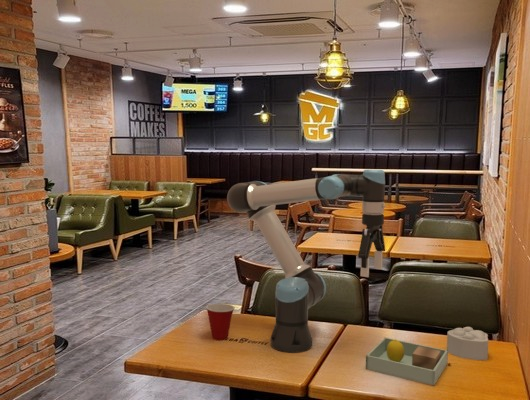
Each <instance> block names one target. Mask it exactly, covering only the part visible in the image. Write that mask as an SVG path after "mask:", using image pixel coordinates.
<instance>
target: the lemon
mask: <svg viewBox="0 0 530 400" xmlns="http://www.w3.org/2000/svg"><path fill="white" fill-rule="evenodd" d="M397 340H398V339H395V340H393V341H391V342H390V343H389V344H388V346H387V356H388V358H389V359H390V360H391V361H395V362H399V361H401V360H402V359H403V357H404V348H403V345H402V344H401V343H400V342H399V341H400V340H399V341H397Z"/></svg>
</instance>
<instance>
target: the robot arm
mask: <svg viewBox="0 0 530 400" xmlns="http://www.w3.org/2000/svg"><path fill="white" fill-rule="evenodd" d="M385 175H386V174H385V171H384V170H383V169H364V170H363V173H362V174H345V173H338V174H337V173H336V174H332V175H329V176H324V177H317V178H309V179H302V180H300V179H299V180H294V181H286V182H278V183H270V184H268V183H266V182H263V181H258V180H253V181H252V180H251V181H248V182H239V183H236V184H234V185H232V186H231V187H230V188H229V190H228V192H227V195H226V201H227V204H228V206H229V208H230V209H231V210H232V211H233V212H235V213H239V214H246V215H247V217H248V218H249V220H250V221H253V222H255V223H256V225H257V226H258V229H259V230H260V232H261V234H262V236H263V238H264V240H265V241H266V242H267V244H268V246H269V249H270V250H271V252H272V253H273V255H274V257H275V258H276V261H277V262H278V264H279V265H280V268H281V269H282V271H283V273H284V274H285V276H284V278H282V279H281V280H279V281H278V282H277V283H276V285H275V292H274V295H275V322H274V323H275V324H274V328H273V330H272V333H271V335H270V346H271V348H272V349H275V350H277V351H278V352H279V351H280V352H284V353H302V352H305V351H306V352H307V351H308V350H310V349H311V348H312V347H313V337H312V336H313V335H312V333H311V330H310V329H311V328H310V326H309V309H311V308H312V307H313V306H315V305H317V304H319V303H320V302H322V301H321V300H322V299H324V297H325V295H326V291H327V285H326V282H325V280H324V278H323V277H322V275H321V274H319V273H317V272H315V271H314V269H313V268H312V266H311V265H308V264H306V263H305V262H304V260H303V258H302V256H301V255H300V253H299V252H298V250H297V248H296V246H295V245H294V243H293V241H292V239H291V237H290V236H289V234H288V232H287V231H286V229H285V227H284V225H283V224H282V222H281V220H280V219H279V217H278V215H277V213H276V211H275V210H276V206H277V205H285V204H286V205H287V204H294V203H295V204H296V203H304V202H311V201H321V200H335V199H338V198H341V197H346V196H351V197H352V196H353V197H354V196H356V197H362V201H361V202H362V205H361V206H362V207H361V208H362V209H361V212H362V215H361V216H362V217H361V218H362V219H361V223H362V225H364V226H366V228H363V229H362V231H361V239H360V245H359V248H358V249H359V250H358V254H357V257H358V258H359V259H360V277H365V278H369V277H370V276H369V275H370V258H369V256H370V252H371V249H372V246H373V245H374V248H375V250H374V260H373V261H374V262H373V263H374V264H373V265H374V267H373V269H376V270H382V269H383V252H385V251H386V246H385V239H384V237H385V236H384V233H383V225H384V223H385V215H384V214H383V213H385V208H386V204H385V192H386V190H385V189H386V178H385V177H386V176H385Z"/></svg>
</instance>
